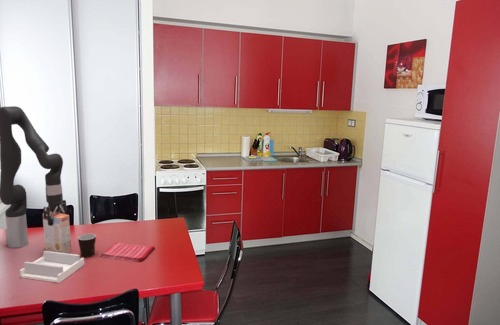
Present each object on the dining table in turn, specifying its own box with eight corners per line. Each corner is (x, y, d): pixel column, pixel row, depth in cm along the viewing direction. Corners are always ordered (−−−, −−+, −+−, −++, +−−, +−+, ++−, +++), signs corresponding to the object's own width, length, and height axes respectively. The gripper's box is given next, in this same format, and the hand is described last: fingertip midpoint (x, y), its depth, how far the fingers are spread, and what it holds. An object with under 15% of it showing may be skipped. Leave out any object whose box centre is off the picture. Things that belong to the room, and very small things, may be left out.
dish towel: (141, 263, 187) (141, 258, 187) (99, 258, 191) (99, 253, 191) (156, 249, 204) (156, 245, 203) (116, 245, 208) (116, 240, 207)
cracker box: (72, 252, 196) (69, 214, 191) (61, 256, 190) (59, 218, 186) (55, 246, 202) (52, 209, 198) (44, 250, 197) (41, 213, 193)
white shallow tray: (20, 277, 169) (19, 264, 168) (48, 260, 186) (47, 248, 185) (59, 282, 165) (58, 270, 164) (84, 264, 183) (83, 253, 181)
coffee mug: (90, 259, 189) (89, 240, 187) (75, 257, 190) (74, 238, 188) (103, 249, 200) (102, 232, 198) (89, 248, 202) (88, 230, 200)
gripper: (57, 188, 197) (59, 217, 201) (37, 195, 184) (40, 226, 187) (69, 189, 196) (71, 218, 199) (50, 196, 182) (53, 228, 185)
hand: (56, 222), depth 193 cm, fingers open, 8 cm apart
